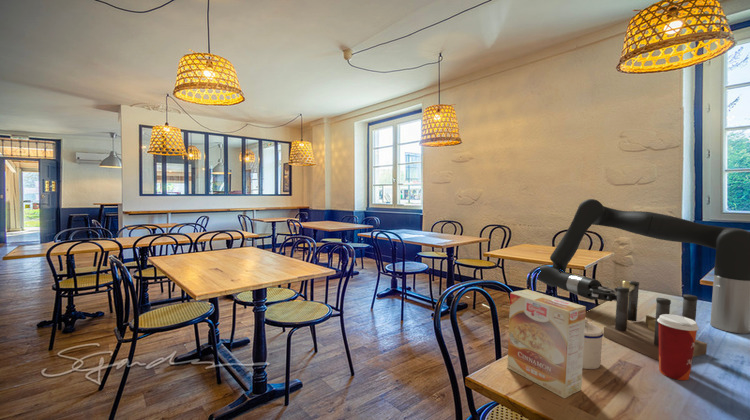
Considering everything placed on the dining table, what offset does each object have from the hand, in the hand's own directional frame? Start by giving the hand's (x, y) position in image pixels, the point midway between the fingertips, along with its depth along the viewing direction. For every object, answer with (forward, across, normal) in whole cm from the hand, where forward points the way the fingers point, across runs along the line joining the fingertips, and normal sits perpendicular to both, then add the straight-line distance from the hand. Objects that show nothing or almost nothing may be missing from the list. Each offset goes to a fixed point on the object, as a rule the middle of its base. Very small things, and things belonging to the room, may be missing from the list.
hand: (631, 301), depth 113 cm
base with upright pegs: (+11, -7, +9) cm, 16 cm away
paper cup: (+24, -20, +9) cm, 32 cm away
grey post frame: (+3, -5, +6) cm, 8 cm away
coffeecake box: (+15, -52, +9) cm, 55 cm away
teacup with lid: (+10, -36, +9) cm, 39 cm away
